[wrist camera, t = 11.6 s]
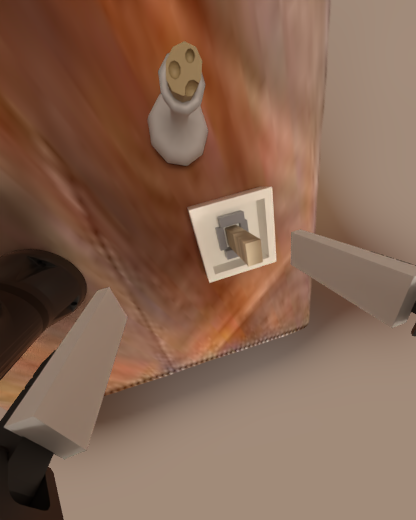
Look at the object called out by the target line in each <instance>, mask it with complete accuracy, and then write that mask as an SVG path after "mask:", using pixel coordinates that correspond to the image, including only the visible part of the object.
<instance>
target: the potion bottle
mask: <svg viewBox="0 0 416 520" xmlns="http://www.w3.org/2000/svg"><path fill="white" fill-rule="evenodd" d="M158 74H159V81H160V89H161V94H160V95H159V97H158V99H157V101H156V102H155V104H154V106H153V108H152V110H151V112H150V114H149V116H148V125H149V131H150V138H151V144H152V146H153V147H154V148H155V149H156V150H157V152H158V153H159V154H160V155H161V156H162V157H163V158H164V159H165V161H166V162H167V163H172V164H178V165H184V166H188V165H189V164H190V163H192V162H193V161H194V160H196V159H197V158H198V157H200V156H201V155H203V151H204V147H205V143H206V139H207V135H208V129H207V125H206V122H205V119H204V116H203V113H202V110H201V107H200V105H201V102H202V97H203V93H204V88H205V82H204V79H203V75H202V60H201V57H200V55H199V53H198V51H197V48H196V47H195V46H193V45H191V44H189V43H187V42H185V41H184V42H182V43H180V44H178V45H176V46H174V47H172V50H171V52H170V53H168V54H167V55H166V57H165V59H164V61H163V63H162V65H161V67H160V69H159V71H158Z"/></svg>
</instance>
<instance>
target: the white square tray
mask: <svg viewBox="0 0 416 520" xmlns="http://www.w3.org/2000/svg"><path fill="white" fill-rule="evenodd" d="M187 210H188V213H189V216H190V220H191V223H192V227H193V230H194V234H195V237H196V241H197V244H198V248H199V251H200V254H201V258H202V261H203V265H204V268H205V272H206V275H207V277H208V280H209V283H210V282H214V281H217V280H220V279H223V278H226V277H229V276H232V275H236V274H239V273H242V272H245V271H248V270H251V269H254V268H258V267H261V266H264V265H267V264H270V263H273V262H276V246H275V229H274V211H273V194H272V187H258V188H254V189H251V190H247V191H243V192H240V193H236V194H233V195H229V196H226V197H222V198H219V199H215V200H211V201H208V202H204V203H201V204H197V205H194V206H190V207H187ZM232 225H238V226H239V227H241V228H243V229H244V230H246V231H248V232H249V233H251V234H253V235H254V236H256V237H258V238H259V239H261V247H262V257H263V262H262V263H259V264H255V265H252V266H249V267H248V266H247V264H246V263H245V262H244V261H243V260H242V259H241V258H240V257H239V256H238V255H237V254H236V253H235V252H234V251H233V250H232V249H231V248H230V246H229V245H228V242H227V237H226V232H225V228H226V227H229V226H232Z"/></svg>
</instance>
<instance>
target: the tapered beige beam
mask: <svg viewBox="0 0 416 520" xmlns="http://www.w3.org/2000/svg"><path fill="white" fill-rule="evenodd" d="M225 232H226V237H227V242H228V245H229V246H230V248H231V249H232V250H233V251H234V252H235V253H236V254H237V255H238V256H239V257H240V258H241V259H242V260H243V261H244V262H245V263H246V264H247V266H248V267H249V266H252V265H255V264H259V263H262V262H263V257H262V247H261V239H259V238H258V237H256V236H254V235H253V234H251V233H249V232H248V231H246V230H244V229H243V228H241V227H239V226H238V225H232V226H229V227H226V228H225Z"/></svg>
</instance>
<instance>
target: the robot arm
mask: <svg viewBox="0 0 416 520" xmlns="http://www.w3.org/2000/svg"><path fill="white" fill-rule="evenodd" d="M291 265H292V266H294V267H296V268H297V269H299V270H300V271H302V272H304V273H305V274H307V275H308V276H310V277H312V278H313V279H315V280H317V281H318V282H320V283H321V284H323V285H324V286H326V287H328V288H329V289H331V290H332V291H334V292H336V293H337V294H339V295H340V296H342V297H344V298H345V299H347V300H348V301H350V302H352V303H353V304H355V305H356V306H358V307H359V308H361V309H363V310H364V311H366V312H367V313H369V314H371V315H372V316H374V317H375V318H377V319H379V320H380V321H382V322H383V323H385V324H387V325H388V326H390V327H391V328H393V327H395V326H398V325H400V324H403V323H405V322H407V319H408V317H409V315H410V313H411V312H413V313H415V314H416V265H413V264H410V263H407V262H404V261H401V260H397V259H394V258H391V257H388V256H384V255H382V254H378V253H375V252H372V251H367V250H364V249H361V248H358V247H355V246H352V245H348V244H345V243H342V242H339V241H335V240H332V239H329V238H326V237H323V236H320V235H317V234H314V233H310V232H307V231H304V230H301V229H300V230H297V231H294V232H291ZM85 295H86V283H85V280H84V278H83V276H82V274H81V273H80V272H79V270H78V269H77V268H76V267H75V266H74V265H72V264H71V263H70V262H68V261H67V260H65V259H64V258H62V257H60V256H58V255H55V254H52V253H49V252H46V251H41V250H30V249H28V250H19V251H14V252H11V253H9V254H6V255H4V256H1V257H0V380H1V379H2V378H3V377H4V376H5V374H6V373H7V372H8V371H9V370H10V369H11V368H12V366H13V365H14V364H15V363H16V362H17V361H18V360H19V358H20V357H21V356H22V355H23V354H24V353H25V352H26V350H27V349H28V348H29V347H30V346H31V345H32V344H33V342H34V341H35V340H36V339H37V338H38V337H39V336H40V335H41V333H42V332H43V331H44V330H45V329H46V328H48V327H49V326H51V325H53V324H54V323H56V322H58V321H59V320H61V319H63V318H64V317H66V316H68V315H69V314H71V313H72V312H73V311H75V310H76V309H77V307H78V306H79V305H80V304H81V302H82V301H83V300H84V298H85ZM127 318H128V317H127V315H126V313H125V312H124V310H123V309H122V307H121V305H120V304H119V302H118V300H117V299H116V297H115V295H114V294H113V292H112V290H111V289H110V287H107V288H104V289H101V290H97V292H96V293H95V294H94V296H93V297H92V299H91V300H90V302H89V303H88V305H87V306H86V308H85V309H84V310H83V312H82V313H81V315H80V316H79V318H78V319H77V321H76V322H75V324H74V325H73V327H72V328H71V329H70V331H69V332H68V334H67V335H66V337H65V338H64V340H63V341H62V343H61V344H60V346H59V347H58V348H57V350H55V351H54V352H53V353H52V354H51V355H50V356H49V357H48V358H47V359H46V360H45V361H44V362H43V363H42V364H41V365H40V367H39V368H38V369H37V371H36V372H35V374H34V375H33V378H31V379H30V380H29V382H28V383H27V385H26V386H25V389H24V390H22V392H21V393H20V394H19V396H18V397H17V399H16V400H15V401H14V403H13V404H12V406H11V407H10V408H9V410H8V411H7V413H6V414H5V416H4V417H3V418H2V420H1V421H0V520H64V519H63V515H62V510H61V506H60V501H59V497H58V492H57V487H56V483H55V478H54V473H53V471H52V470H51V468H49V467H48V465H49V463H50V461H51V458H52V456H53V454H55V455H57V456H59V457H61V458H63V459H67V458H69V457H71V456H74V455H77V454H79V453H81V452H84V451H86V450H87V448H88V445H89V442H90V438H91V435H92V432H93V429H94V425H95V422H96V419H97V416H98V412H99V409H100V406H101V402H102V399H103V396H104V393H105V390H106V386H107V383H108V380H109V377H110V373H111V370H112V367H113V364H114V361H115V357H116V354H117V351H118V348H119V344H120V341H121V338H122V335H123V331H124V328H125V325H126V322H127ZM411 334H412V336H416V323H415V325H414V327H413V329H412V331H411Z"/></svg>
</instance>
